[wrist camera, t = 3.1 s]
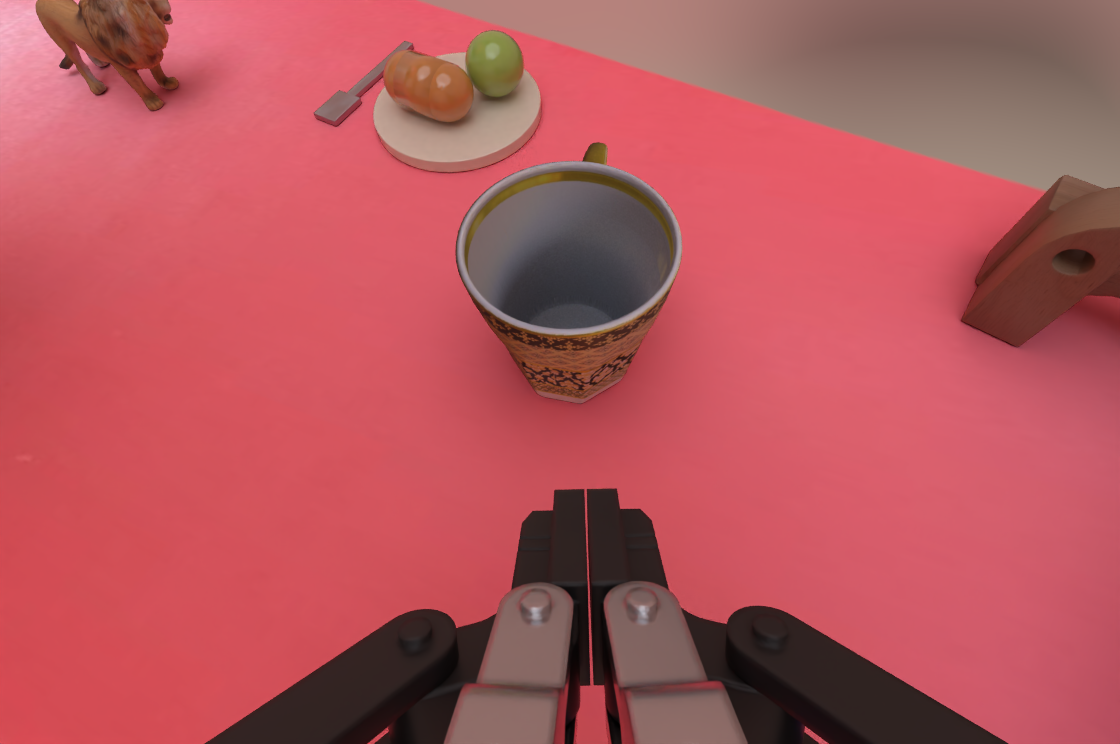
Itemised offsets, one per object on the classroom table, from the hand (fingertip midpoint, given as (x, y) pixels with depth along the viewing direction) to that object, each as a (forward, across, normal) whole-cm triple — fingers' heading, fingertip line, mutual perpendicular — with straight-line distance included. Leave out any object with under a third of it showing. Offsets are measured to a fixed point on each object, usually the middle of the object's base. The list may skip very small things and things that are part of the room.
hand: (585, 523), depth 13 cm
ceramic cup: (+22, 0, 0) cm, 22 cm away
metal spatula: (+39, +17, -18) cm, 46 cm away
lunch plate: (+36, +9, -15) cm, 40 cm away
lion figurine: (+40, +36, -18) cm, 57 cm away
